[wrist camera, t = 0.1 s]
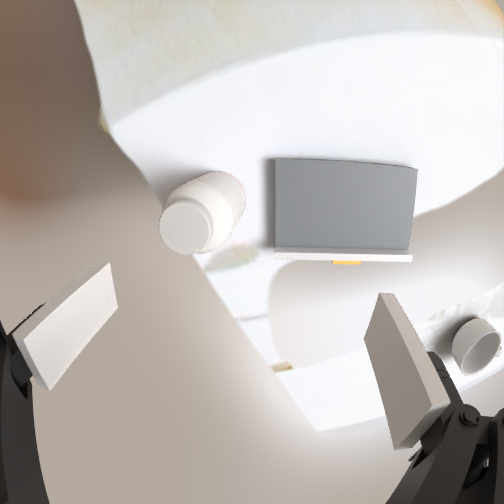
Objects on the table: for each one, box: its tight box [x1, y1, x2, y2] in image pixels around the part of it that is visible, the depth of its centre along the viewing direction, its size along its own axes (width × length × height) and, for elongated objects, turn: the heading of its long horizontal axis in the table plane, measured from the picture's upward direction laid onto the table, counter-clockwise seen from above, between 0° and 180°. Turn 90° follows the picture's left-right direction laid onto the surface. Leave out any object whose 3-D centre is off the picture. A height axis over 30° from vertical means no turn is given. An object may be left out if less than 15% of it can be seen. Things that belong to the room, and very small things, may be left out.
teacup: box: [451, 318, 502, 375], centre depth 40 cm, size 14×11×8 cm
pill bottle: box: [159, 171, 246, 255], centre depth 32 cm, size 8×8×15 cm
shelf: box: [275, 159, 418, 264], centre depth 36 cm, size 14×20×4 cm
